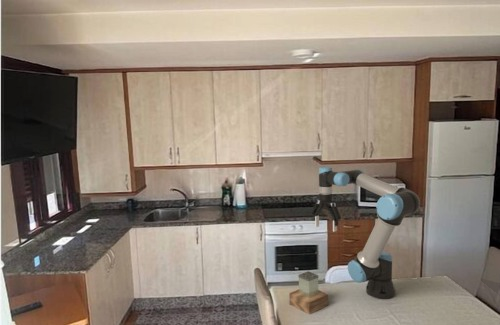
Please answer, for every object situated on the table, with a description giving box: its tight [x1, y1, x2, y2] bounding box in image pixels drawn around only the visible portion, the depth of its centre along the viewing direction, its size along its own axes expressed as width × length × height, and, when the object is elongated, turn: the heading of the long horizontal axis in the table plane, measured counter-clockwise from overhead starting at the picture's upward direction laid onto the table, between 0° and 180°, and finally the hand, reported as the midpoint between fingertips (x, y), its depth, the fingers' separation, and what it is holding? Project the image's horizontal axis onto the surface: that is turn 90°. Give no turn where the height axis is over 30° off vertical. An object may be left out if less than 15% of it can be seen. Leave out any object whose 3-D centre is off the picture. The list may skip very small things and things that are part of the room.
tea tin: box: [298, 270, 319, 298], centre depth 193 cm, size 7×7×10 cm
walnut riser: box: [289, 288, 329, 315], centre depth 194 cm, size 14×14×6 cm
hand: (325, 228), depth 220 cm, fingers open, 13 cm apart
